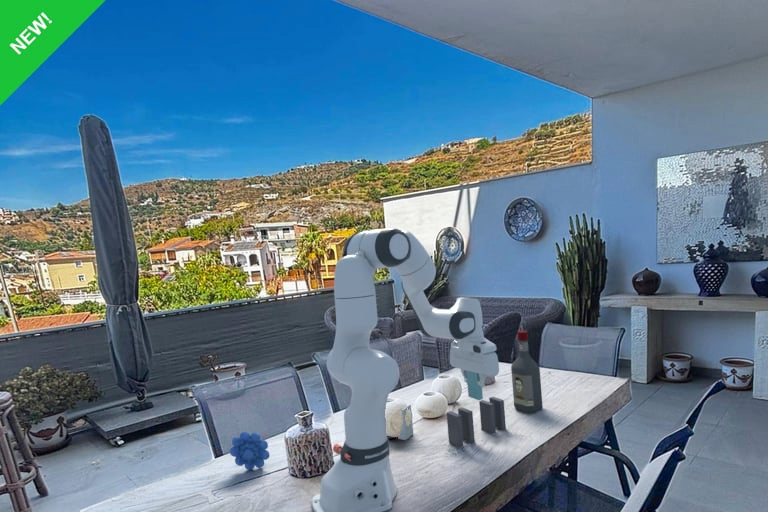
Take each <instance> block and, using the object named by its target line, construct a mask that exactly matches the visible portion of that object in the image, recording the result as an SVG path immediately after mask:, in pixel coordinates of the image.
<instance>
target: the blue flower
mask: <svg viewBox="0 0 768 512" xmlns="http://www.w3.org/2000/svg"><path fill="white" fill-rule="evenodd" d="M231 444H232V447H231V448H230V450H229V452H230V456H231V457H233V458H235V459H234V463H235V465H236V466H239V467H243V466H244V468H245V469H246V470H248V471H252V470H253V469H255V468H259V469H261V468H263V467H264V466H265V460H269V458H270V452H269V451H268V450H267V449H268V447H269V444H268V441H266V440H264V439H261V436H260V434H259V433H257V432H253V433H251V434H250V433H249V432H248V431H242V432H241V433H240V434H239V437H238V436H236V437H233V438H232V440H231Z"/></svg>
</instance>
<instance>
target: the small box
mask: <svg viewBox="0 0 768 512" xmlns="http://www.w3.org/2000/svg"><path fill="white" fill-rule="evenodd" d="M406 404H407V403H406ZM407 408H408V410H409V409H410V411H411V415H412V404H407V407H406V408H404V409H402V410H401V411H402V415H403V424H402V431H401V434H400V435H399V436H398V440H403V441H407V440H408V439H409V438H410V437H411V436H412V435H414V426H413V425H414V424H413V419H412V420H411V424H410V426H409V427H408V426H406V421H405V415H406V410H407Z"/></svg>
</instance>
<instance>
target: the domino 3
mask: <svg viewBox="0 0 768 512" xmlns="http://www.w3.org/2000/svg"><path fill="white" fill-rule="evenodd" d="M479 380H480V377H479V374H477V373H474V372H470V371H467V383H466V384H467V394H468V396H467V397H468V398H471V399H473V400H474V399H475V400H477V401H481V400H484V396H483V395H484V394H483V387H479V386H478V382H477V381H479Z"/></svg>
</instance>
